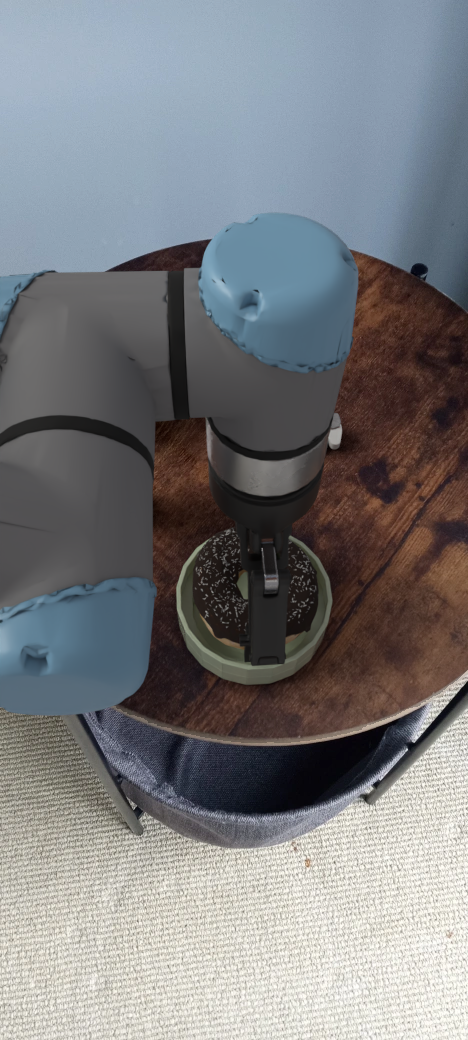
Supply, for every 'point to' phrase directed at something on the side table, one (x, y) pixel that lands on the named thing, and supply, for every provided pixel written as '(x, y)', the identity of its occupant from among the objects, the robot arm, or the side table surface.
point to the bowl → (231, 659)
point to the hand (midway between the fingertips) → (254, 592)
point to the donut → (224, 598)
